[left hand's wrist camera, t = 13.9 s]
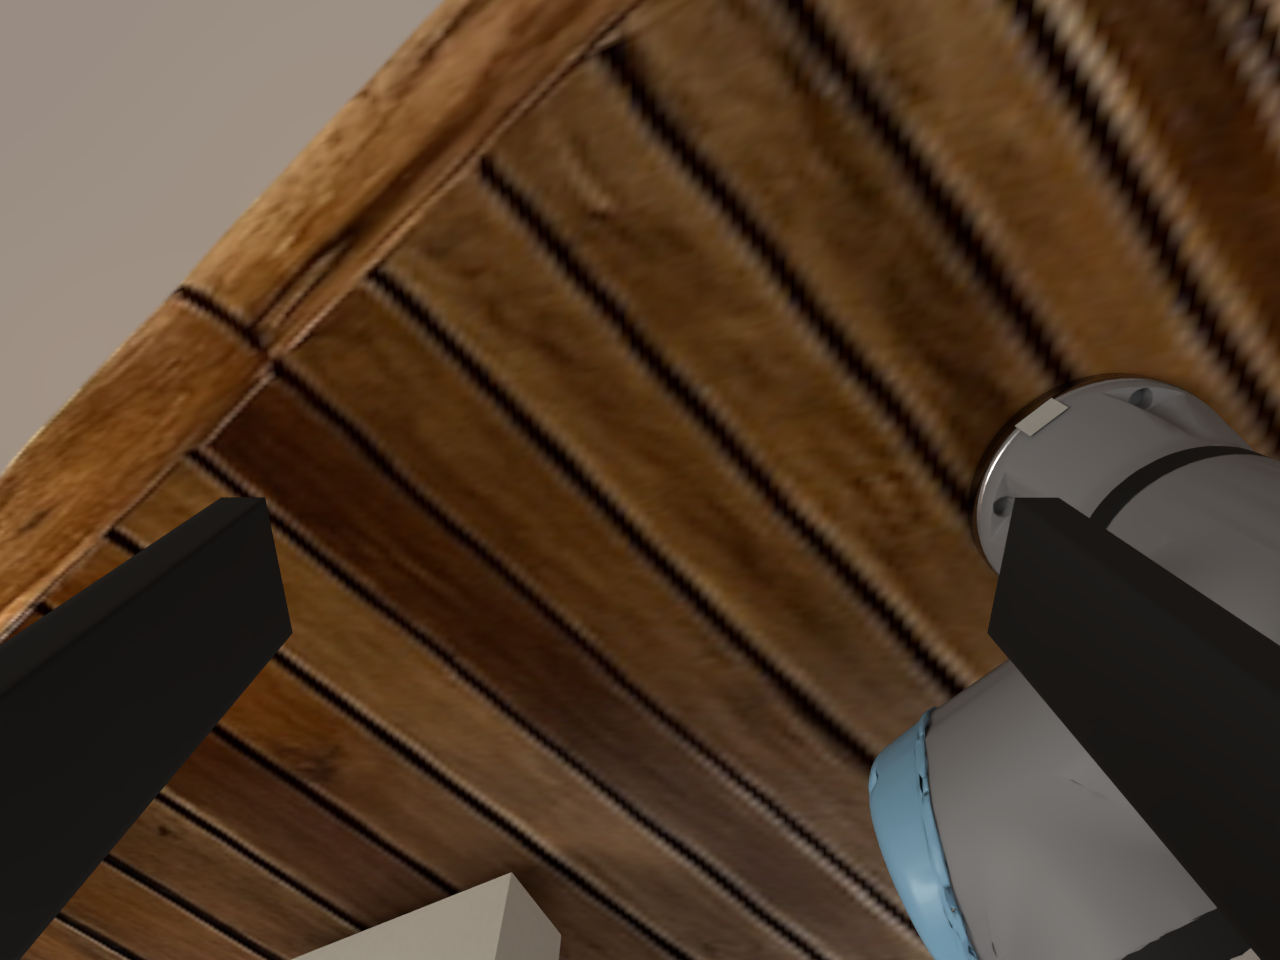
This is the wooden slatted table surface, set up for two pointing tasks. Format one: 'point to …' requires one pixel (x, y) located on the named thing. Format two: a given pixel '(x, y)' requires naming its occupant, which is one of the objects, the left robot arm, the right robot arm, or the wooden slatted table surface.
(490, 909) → the box
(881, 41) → the wooden slatted table surface
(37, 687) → the left robot arm
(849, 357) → the wooden slatted table surface
